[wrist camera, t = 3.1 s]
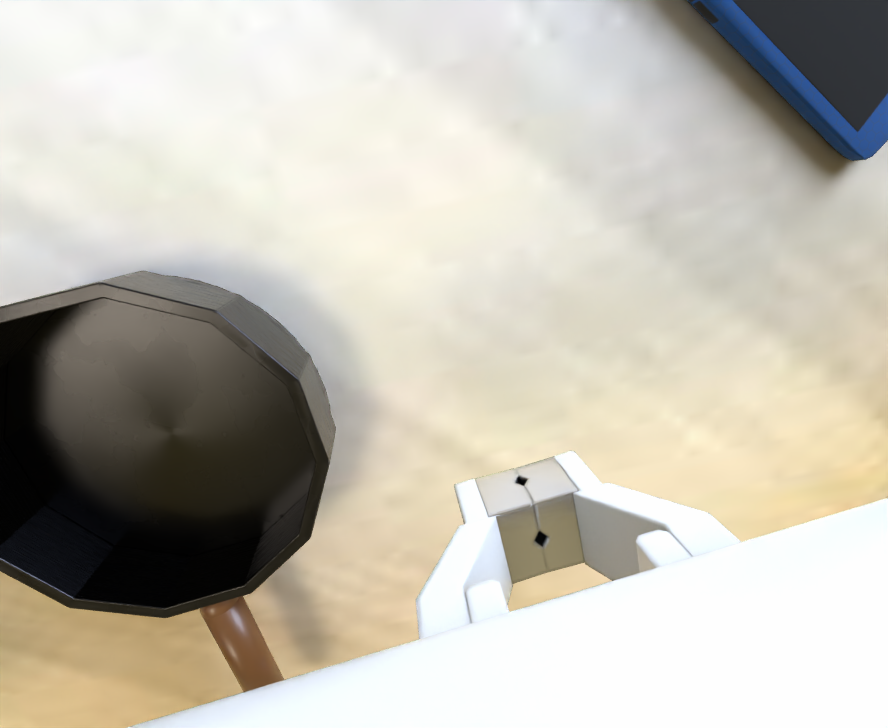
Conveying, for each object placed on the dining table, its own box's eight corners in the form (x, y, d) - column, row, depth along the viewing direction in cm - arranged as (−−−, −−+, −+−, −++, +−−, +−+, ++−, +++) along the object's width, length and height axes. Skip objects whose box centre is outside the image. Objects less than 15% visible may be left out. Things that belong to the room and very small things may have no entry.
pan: (-68, 323, 18) (-174, 350, 14) (272, 237, 18) (249, 244, 15) (172, 705, 25) (140, 784, 21) (411, 633, 25) (416, 698, 22)
